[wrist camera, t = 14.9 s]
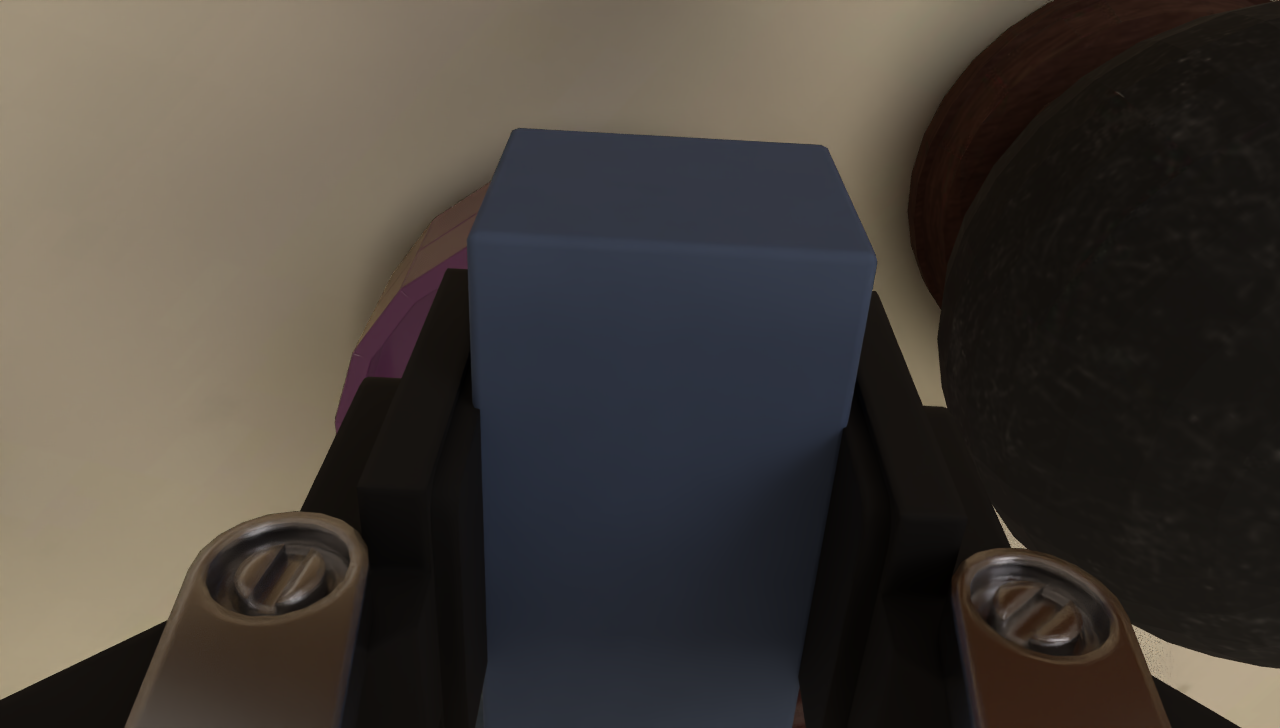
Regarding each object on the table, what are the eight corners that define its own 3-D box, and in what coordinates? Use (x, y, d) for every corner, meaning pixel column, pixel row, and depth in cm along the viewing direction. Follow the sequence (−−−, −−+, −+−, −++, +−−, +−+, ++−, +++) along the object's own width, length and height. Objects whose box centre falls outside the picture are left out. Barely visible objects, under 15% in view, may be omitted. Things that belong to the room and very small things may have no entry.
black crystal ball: (919, 436, 32) (1096, 885, 20) (823, 31, 26) (990, 301, 13) (1364, 321, 30) (1895, 744, 17) (1377, -152, 24) (2233, -44, 11)
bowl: (398, 537, 35) (363, 647, 31) (360, 137, 28) (306, 207, 23) (808, 554, 35) (830, 666, 31) (875, 162, 28) (915, 236, 24)
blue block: (762, 593, 13) (785, 775, 11) (516, 581, 13) (483, 762, 11) (829, 142, 10) (881, 255, 8) (511, 124, 10) (464, 233, 8)
